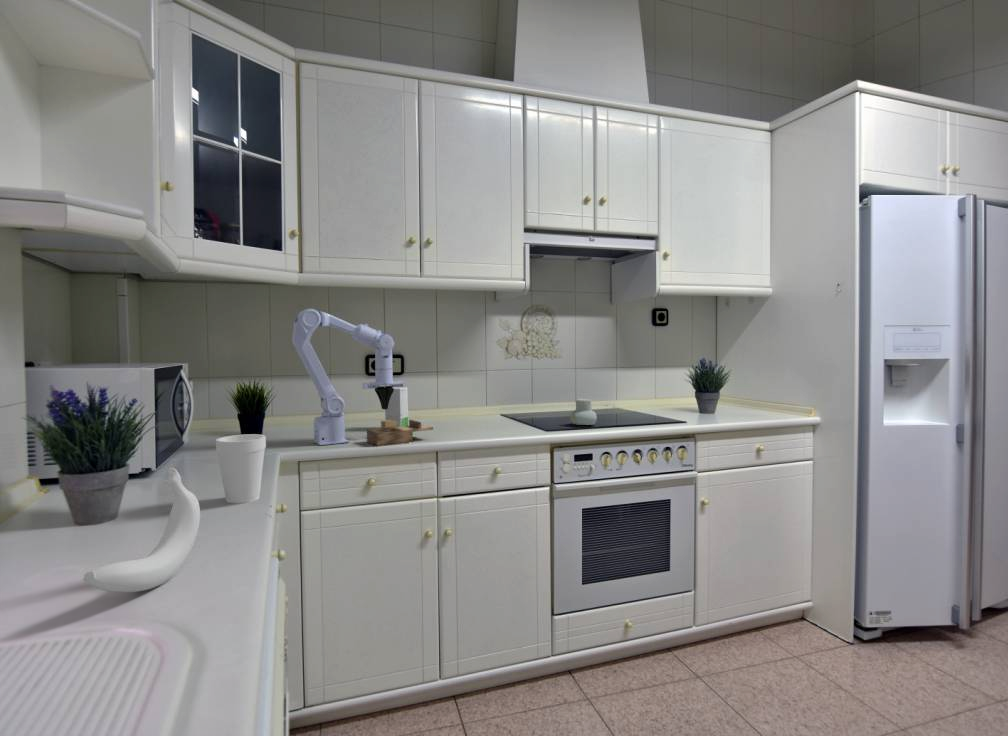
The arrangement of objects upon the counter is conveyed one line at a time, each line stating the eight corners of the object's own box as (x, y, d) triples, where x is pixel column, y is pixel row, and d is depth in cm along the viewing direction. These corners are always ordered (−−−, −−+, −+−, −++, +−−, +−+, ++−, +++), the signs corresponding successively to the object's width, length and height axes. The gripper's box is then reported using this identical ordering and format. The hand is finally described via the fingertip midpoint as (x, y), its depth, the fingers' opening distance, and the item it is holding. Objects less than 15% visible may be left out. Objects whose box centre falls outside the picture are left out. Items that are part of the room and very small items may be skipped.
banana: (82, 617, 68) (76, 497, 67) (179, 557, 87) (175, 463, 86) (121, 618, 68) (116, 498, 67) (210, 557, 86) (206, 463, 86)
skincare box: (400, 430, 206) (400, 388, 206) (384, 430, 208) (383, 388, 207) (409, 427, 215) (408, 386, 214) (393, 427, 216) (392, 386, 215)
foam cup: (274, 499, 118) (272, 438, 117) (227, 508, 112) (224, 443, 111) (257, 490, 125) (255, 432, 124) (212, 499, 118) (210, 438, 118)
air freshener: (569, 423, 221) (569, 398, 221) (589, 423, 223) (589, 397, 222) (577, 427, 210) (577, 401, 210) (598, 427, 212) (598, 400, 211)
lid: (402, 432, 181) (402, 424, 181) (392, 429, 188) (392, 421, 188) (433, 429, 187) (433, 421, 187) (422, 426, 194) (422, 418, 194)
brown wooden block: (377, 446, 176) (377, 433, 176) (367, 442, 184) (366, 429, 184) (412, 442, 183) (412, 429, 183) (401, 438, 190) (401, 426, 190)
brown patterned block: (381, 436, 195) (380, 420, 195) (391, 435, 197) (391, 419, 197) (385, 438, 192) (385, 422, 191) (396, 436, 194) (396, 421, 194)
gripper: (367, 370, 183) (368, 411, 184) (408, 368, 191) (409, 408, 192) (360, 369, 189) (360, 409, 190) (400, 368, 197) (400, 406, 198)
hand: (384, 409), depth 191 cm, fingers closed
